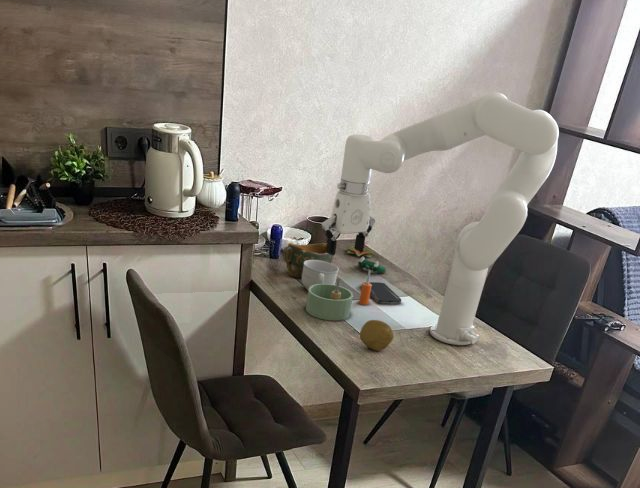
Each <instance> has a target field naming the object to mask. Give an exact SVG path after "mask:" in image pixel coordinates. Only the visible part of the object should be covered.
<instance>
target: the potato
mask: <svg viewBox="0 0 640 488" xmlns="http://www.w3.org/2000/svg"><path fill="white" fill-rule="evenodd" d="M359 339H360V341H361V343H362V344H364V345H365V346H366V347H367V348H369V349H371V350H373V351H376V352H377V351H382V350H385V349H387V348H388V347H389V345H390V344H391V343H392V342H393V340H394V331H393V329H392V327H391V326H390V325H389V324H388V323H386V322H384V321H382V320H378V319H370V320H368V321H366V322H365V323H364V324H363V326H362V327H361V329H360V331H359Z"/></svg>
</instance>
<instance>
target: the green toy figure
mask: <svg viewBox="0 0 640 488" xmlns="http://www.w3.org/2000/svg"><path fill="white" fill-rule="evenodd" d="M357 266H359V267H361V268H362V270H363V271H367V270H368V271H371V274H374V273H379V274H383V273H386V272H387V269H386V267H385V266H383V265H380V263H379V261H378V260H377V261H375V262H374V261H371V260H367V259H366V258H365V256H361V257H360V258H359V259H358V265H357Z"/></svg>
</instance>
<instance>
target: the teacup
mask: <svg viewBox="0 0 640 488" xmlns="http://www.w3.org/2000/svg"><path fill="white" fill-rule="evenodd" d="M339 270H340V268H339V267H338V266H337V265H336V264H334V263H332V262H331V263H328V262H325V261H320V260H307V261H305V262H304V266H303V272H302V278H301V283H302V285H303V287H304V288H305V289H306V290H307V291H308V289H309V287H310V286H312V285H315V284H333V285H336V283H337V279H338V278H337V277H338V274H339Z"/></svg>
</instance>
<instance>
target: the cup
mask: <svg viewBox="0 0 640 488" xmlns="http://www.w3.org/2000/svg"><path fill="white" fill-rule="evenodd" d="M326 250H327V242H318V243H311V244H297V243H292V242H289V243H288V244H287V246H285V247H284V248H283V249H282V253H281V254H282V258H283V261H284V262H285V264H286V269H287V271H288V273H289V275H290V276H291V277H294V278H297V279H302V272H303V266H304V262H305V261H307V260H320V261H325V262H328V263H331V264H332V262H333V259H334V256H335V255H331V254H329V253H327V252H326Z"/></svg>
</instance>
